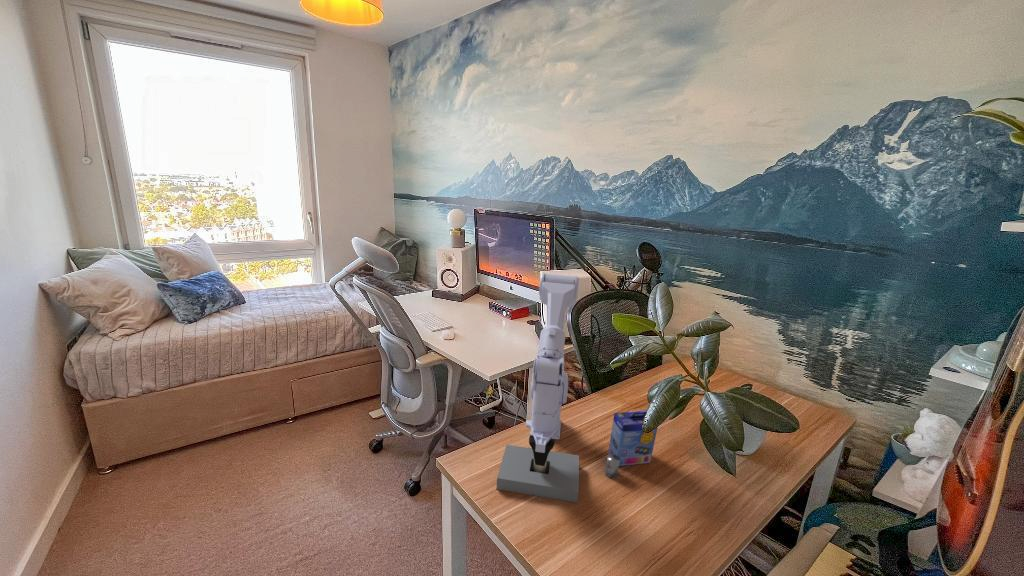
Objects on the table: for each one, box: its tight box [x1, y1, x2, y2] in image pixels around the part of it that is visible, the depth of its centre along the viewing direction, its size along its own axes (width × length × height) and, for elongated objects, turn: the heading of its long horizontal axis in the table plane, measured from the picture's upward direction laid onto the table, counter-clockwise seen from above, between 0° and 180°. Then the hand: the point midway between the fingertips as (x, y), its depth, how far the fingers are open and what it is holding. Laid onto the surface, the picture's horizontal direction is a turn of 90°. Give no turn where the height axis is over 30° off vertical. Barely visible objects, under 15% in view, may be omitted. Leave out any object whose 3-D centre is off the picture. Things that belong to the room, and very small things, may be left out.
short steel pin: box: [604, 453, 620, 480], centre depth 98 cm, size 3×3×4 cm
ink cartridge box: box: [608, 409, 659, 467], centre depth 103 cm, size 10×6×14 cm, turn 103°
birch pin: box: [532, 460, 547, 474], centre depth 95 cm, size 3×3×8 cm
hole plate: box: [496, 444, 580, 504], centre depth 96 cm, size 12×18×3 cm, turn 81°
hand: (540, 459), depth 95 cm, fingers closed on birch pin, 3 cm apart
